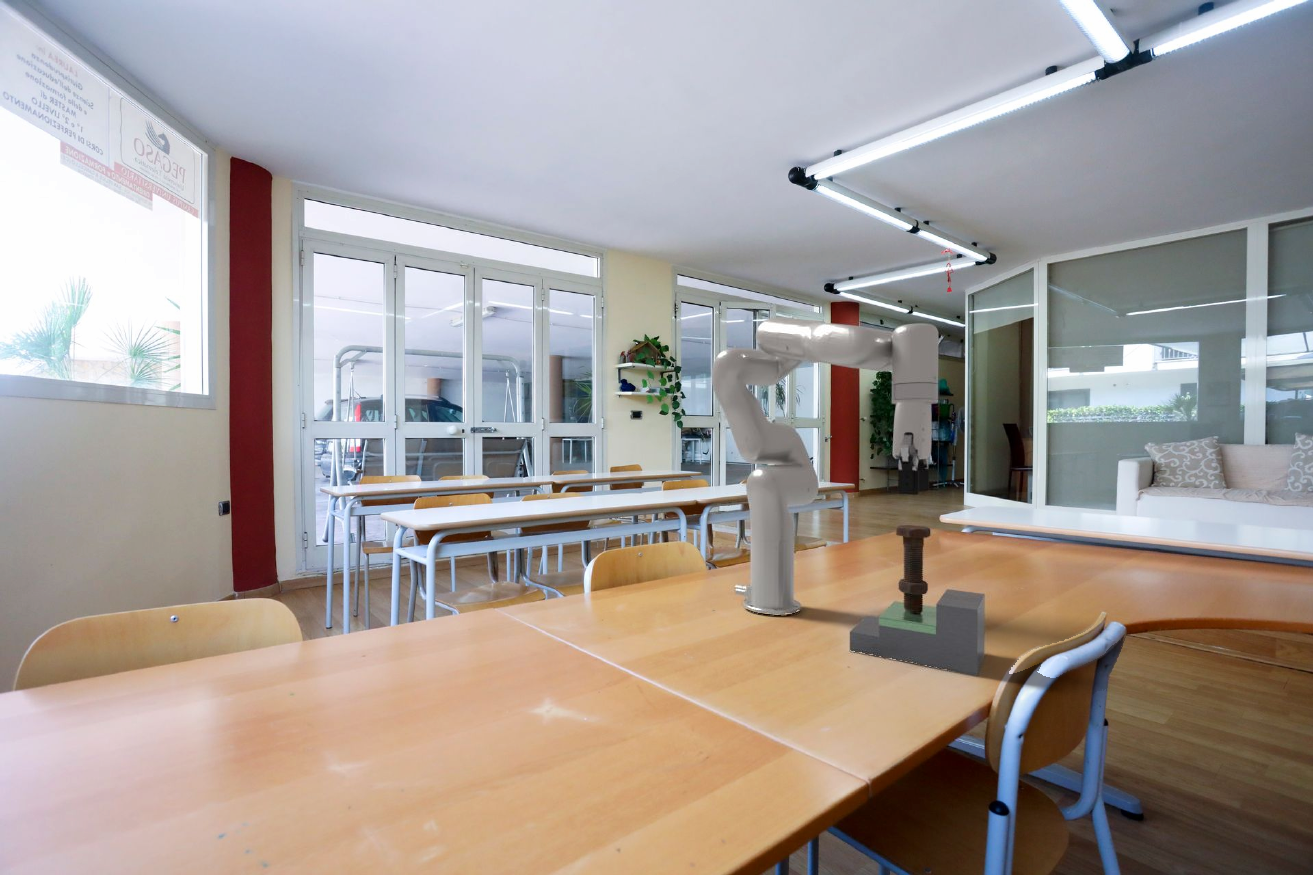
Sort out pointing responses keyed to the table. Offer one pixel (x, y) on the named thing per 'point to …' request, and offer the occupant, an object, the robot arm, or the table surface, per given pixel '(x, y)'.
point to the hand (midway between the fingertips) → (914, 492)
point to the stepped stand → (928, 633)
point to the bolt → (913, 566)
